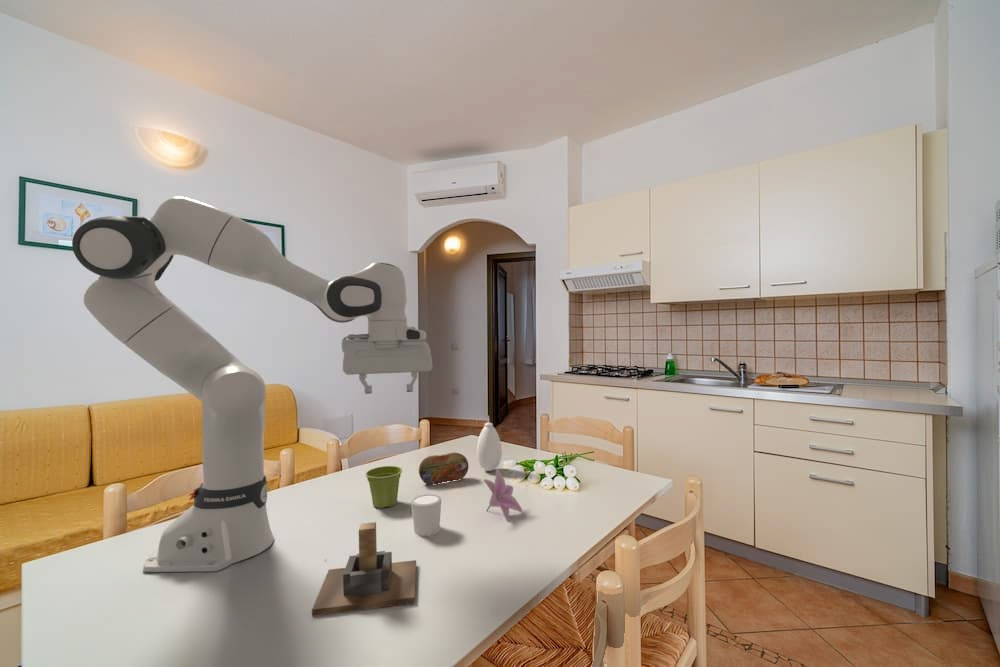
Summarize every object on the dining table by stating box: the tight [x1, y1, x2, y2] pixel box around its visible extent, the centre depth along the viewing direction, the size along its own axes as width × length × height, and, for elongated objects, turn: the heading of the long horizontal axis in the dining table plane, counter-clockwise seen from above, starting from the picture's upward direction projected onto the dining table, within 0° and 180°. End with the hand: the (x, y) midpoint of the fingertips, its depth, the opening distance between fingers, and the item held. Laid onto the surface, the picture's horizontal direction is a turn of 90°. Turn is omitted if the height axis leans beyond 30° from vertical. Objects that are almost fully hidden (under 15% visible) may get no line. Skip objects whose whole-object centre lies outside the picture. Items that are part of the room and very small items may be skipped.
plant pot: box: [365, 465, 403, 509], centre depth 114 cm, size 9×9×9 cm
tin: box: [418, 452, 469, 486], centre depth 131 cm, size 15×3×8 cm, turn 114°
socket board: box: [311, 550, 417, 617], centre depth 76 cm, size 16×12×4 cm
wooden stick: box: [358, 521, 378, 571], centre depth 76 cm, size 3×3×10 cm
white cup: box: [410, 493, 442, 537], centre depth 99 cm, size 7×7×7 cm
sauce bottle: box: [476, 415, 503, 472], centre depth 140 cm, size 8×8×18 cm
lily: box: [483, 468, 523, 521], centre depth 107 cm, size 12×12×10 cm
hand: (389, 392), depth 101 cm, fingers open, 8 cm apart
